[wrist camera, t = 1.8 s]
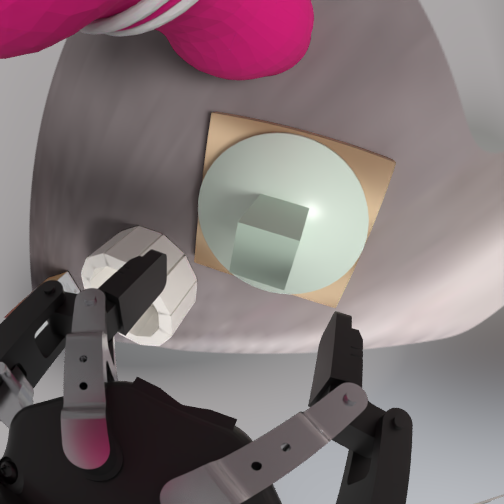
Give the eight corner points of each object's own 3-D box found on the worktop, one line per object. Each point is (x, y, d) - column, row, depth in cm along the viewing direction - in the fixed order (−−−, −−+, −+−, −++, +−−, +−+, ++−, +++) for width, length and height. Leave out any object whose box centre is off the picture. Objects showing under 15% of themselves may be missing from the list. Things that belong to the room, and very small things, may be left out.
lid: (214, 116, 17) (171, 124, 13) (392, 164, 15) (412, 190, 11) (196, 260, 23) (164, 300, 19) (334, 305, 22) (328, 356, 17)
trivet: (217, 111, 18) (211, 112, 17) (393, 159, 16) (396, 162, 15) (199, 256, 24) (194, 262, 23) (336, 300, 23) (335, 308, 22)
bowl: (109, 216, 25) (74, 240, 21) (200, 246, 24) (170, 280, 20) (118, 292, 31) (92, 319, 26) (194, 325, 29) (172, 359, 25)
